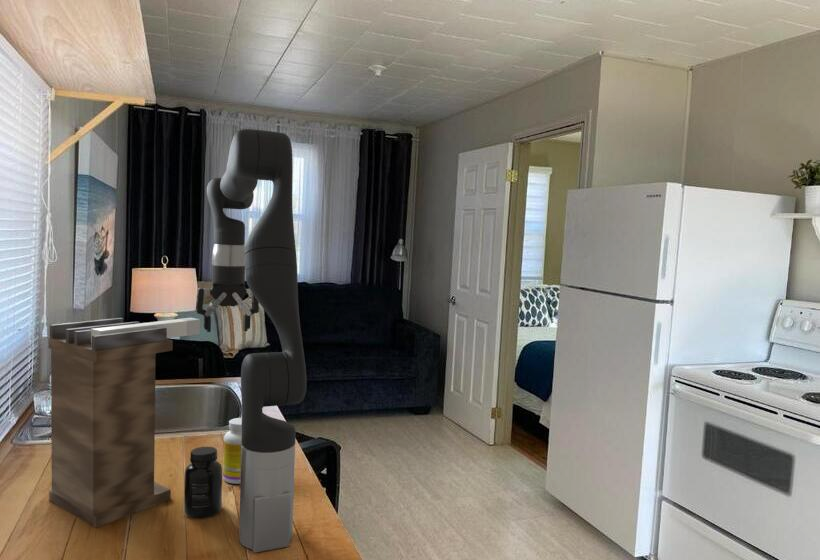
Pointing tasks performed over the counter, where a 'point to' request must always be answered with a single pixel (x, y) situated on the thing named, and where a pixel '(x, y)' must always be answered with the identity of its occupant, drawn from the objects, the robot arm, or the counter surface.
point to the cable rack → (104, 420)
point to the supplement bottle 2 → (233, 452)
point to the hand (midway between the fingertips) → (227, 331)
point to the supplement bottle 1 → (203, 484)
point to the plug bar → (173, 327)
